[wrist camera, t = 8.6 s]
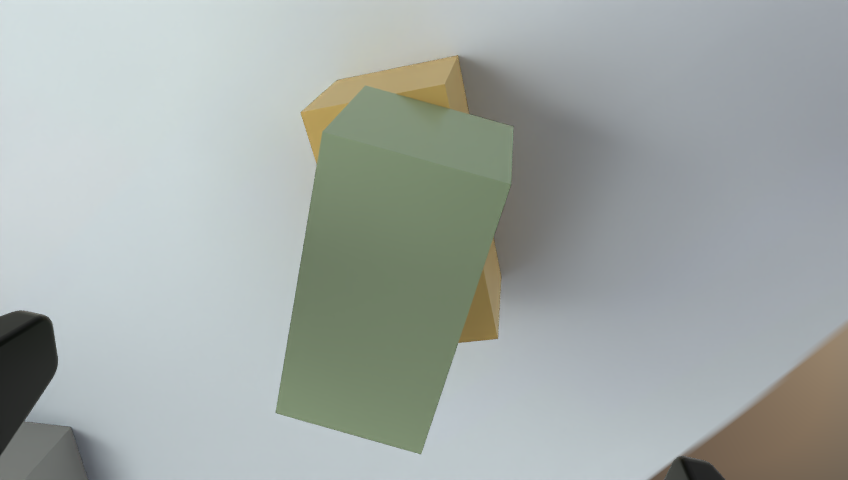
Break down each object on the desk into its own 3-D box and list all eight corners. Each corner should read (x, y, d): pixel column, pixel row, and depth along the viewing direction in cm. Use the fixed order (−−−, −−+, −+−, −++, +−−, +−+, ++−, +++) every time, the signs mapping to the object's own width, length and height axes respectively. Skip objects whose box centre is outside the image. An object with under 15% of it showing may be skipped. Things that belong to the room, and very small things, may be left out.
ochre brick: (501, 273, 17) (498, 338, 15) (396, 287, 18) (375, 351, 15) (458, 54, 15) (444, 84, 12) (338, 78, 15) (300, 112, 13)
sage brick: (438, 359, 15) (420, 454, 12) (318, 325, 15) (275, 413, 12) (513, 126, 12) (511, 184, 10) (365, 85, 12) (322, 131, 10)
